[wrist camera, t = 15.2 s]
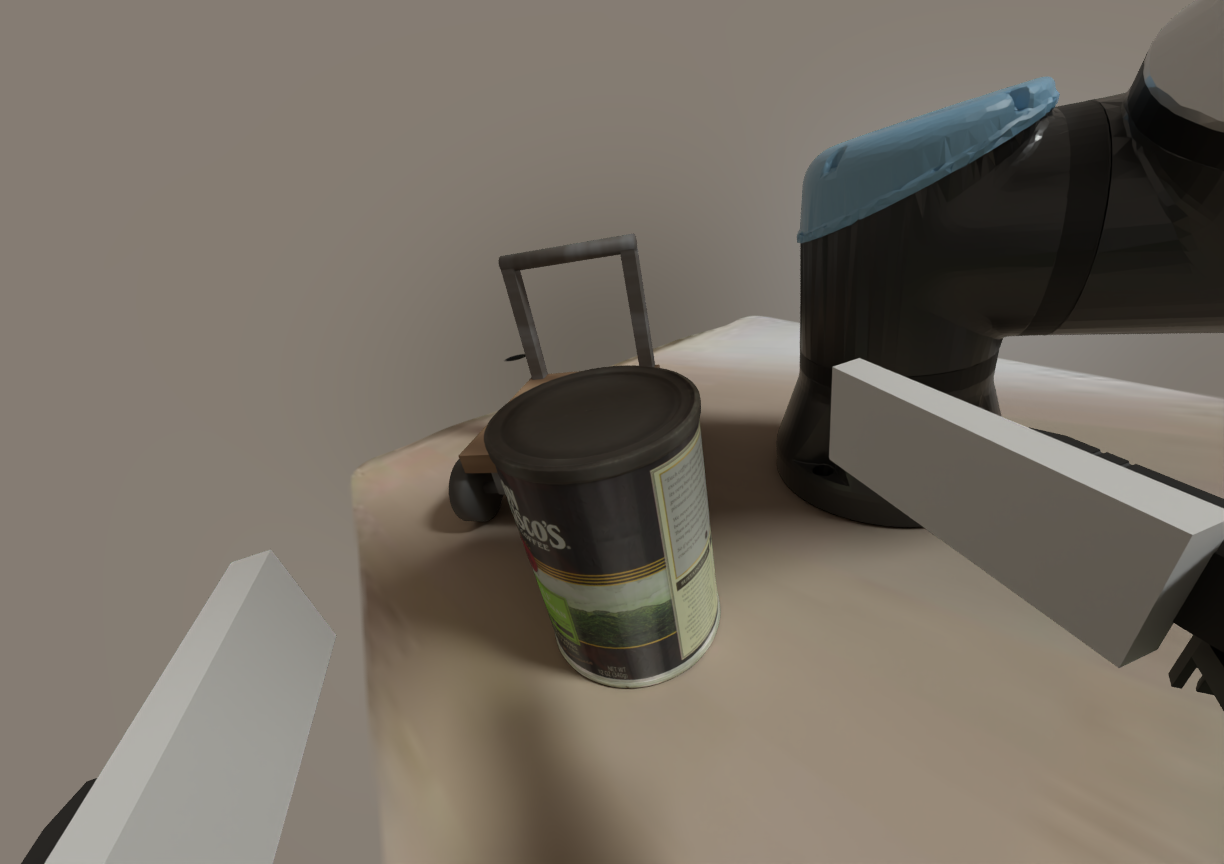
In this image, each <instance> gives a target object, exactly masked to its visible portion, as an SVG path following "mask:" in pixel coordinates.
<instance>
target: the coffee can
mask: <svg viewBox="0 0 1224 864" xmlns="http://www.w3.org/2000/svg"><path fill="white" fill-rule="evenodd" d="M700 413H701V400H700V394H699V391H698V389H697V387H696V386H695V385H694V384H693V382H692V381H690V380H689V379H688V378H686V377H684V376H683V375H681V374H679V373H677V372H674V371H670V370H667V369H662V368H657V367H649V366H612V367H602V368H596V369H590V370H585V371H580V372H576V373H572V374H569V375H565V376H562V377H559V378H556V379H553V380H550V381H548V382H545V383H542V384H540V385H538V386H536V387H534V388H532V389H530V390H528V391H526V392H524V393H522V394H520V395H519V396H517V397H516V398H514V399H513V400H511V401H510V402H508V403H507V404H506V405H505V406H503V407H502V408H501V409H500V410H499V411H498V412H497V413H496V414H495V415H494V416H493V417H492V419H491V420H490V422H489V423H488V425H487V427H486V429H485V432H484V443H485V447H486V450H487V452H488V454H489V457H490V459H491V460H492V462H493V463H494V464H495V466H496V469H497V473H498V475H499V477H500V479H501V482H502V485H503V488H504V491H505V494H506V496H507V499H508V502H509V505H510V508H511V511H512V513H513V516H514V518H515V522H516V524H517V527H518V529H519V532H520V536H521V539H522V541H523V544H524V547H525V550H526V553H527V555H528V558H529V560H530V563H531V566H532V568H533V571H534V574H535V577H536V580H537V582H538V585H539V588H540V591H541V594H542V597H543V599H544V602H545V605H546V608H547V610H548V613H549V616H550V619H551V622H552V625H553V628H554V631H555V636H556V640H557V643H558V646H559V649H560V651H561V653H562V655H563V656H564V658H565V659H566V660H567V662H568V663H569V664H570V665H571V666H572V667H573V668H574V669H575V670H576V671H578V672H579V673H580V674H582V675H583V676H585V677H587V678H589V679H591V680H593V681H595V682H597V683H600V684H603V685H607V686H611V687H617V688H640V687H647V686H652V685H656V684H659V683H662V682H665V681H668V680H670V679H672V678H674V677H676V676H678V675H680V674H681V673H683V672H685V671H686V670H688V669H689V668H690V667H692V666H693V665H694V664H695V663H696V662H697V661H698V660H699V659H700V658H701V657H702V656H703V655H704V653H705V652H706V651H707V649H708V648H709V646H710V645H711V643H712V641H713V639H714V637H715V635H716V632H717V629H718V625H719V620H720V602H719V597H718V593H717V587H716V577H715V567H714V558H713V548H712V538H711V529H710V519H709V509H708V499H707V489H706V480H705V469H704V459H703V450H702V440H701V429H700V419H699V418H700Z"/></svg>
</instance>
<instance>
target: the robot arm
mask: <svg viewBox="0 0 1224 864" xmlns="http://www.w3.org/2000/svg"><path fill="white" fill-rule="evenodd" d="M1059 95H1060V94H1059V92H1057V91H1056V88H1055V81H1054V80H1053V79H1052V78H1051V77H1041V78H1037V79H1034V80H1031V81H1027V82H1024V83H1021V84H1018V85H1014V86H1011V87H1007V88H1005V89H1001V90H998V91H995V92H992V93H989V94H986V95H983V96H980V97H977V98H974V99H970V100H967V101H964V102H961V103H958V104H955V105H952V106H948V107H945V108H942V109H939V110H936V111H933V112H930V113H927V114H924V115H921V116H919V117H915V118H912V119H909V120H906V121H903V122H900V123H897V124H895V125H892V126H889V127H886V128H883V129H880V130H877V131H874V132H871V133H868V134H865V135H862V136H859V137H857V138H854V139H851V140H848V141H845V142H843V143H840V144H837V145H835V146H833V147H830V148H828V149H827V150H825V151H823V152H822V153H821V154H820V155H818V156H817V158H815V159H814V161H813V162H812V163H811V164H810V166H809V168H808V169H807V171H806V174H805V177H804V181H803V190H802V207H801V222H800V230H799V232H798V234H797V242H798V243H801V306H800V373H799V377H798V380H797V383H796V385H795V388H794V391H793V393H792V396H791V399H790V401H789V404H788V407H787V410H786V412H785V415H784V418H783V420H782V423H781V426H780V428H779V431H778V435H777V442H776V443H777V467H778V471H779V473H780V476H781V477H782V479H783V480H784V482H785V483H786V484H787V486H788V487H789V488H790V489H791V490H792V491H794V492H795V493H796V494H797V495H798V496H800V497H801V498H803V499H804V500H806V501H807V502H809V503H811V504H813V505H815V506H816V507H819V508H821V509H823V510H825V511H828V512H830V513H833V514H836V515H838V516H841V517H845V518H848V519H852V520H856V521H860V522H865V523H870V524H876V525H884V526H895V527H924V528H925V529H927V530H928V531H930V532H931V533H932V534H934V535H935V536H937V537H938V538H939V539H941V540H942V541H943V542H945V543H946V544H948V545H949V546H950V547H952V548H953V549H955V550H956V551H957V552H959V553H960V554H962V555H963V556H964V557H966V558H967V559H968V560H970V561H971V562H973V563H974V564H975V565H977V566H978V567H980V568H981V569H982V570H984V571H985V572H986V573H988V574H989V575H991V576H992V577H993V578H995V579H996V580H998V581H999V582H1000V583H1002V584H1003V585H1005V586H1006V587H1007V588H1009V589H1010V590H1011V591H1013V592H1014V593H1016V594H1017V595H1018V596H1020V597H1021V598H1023V599H1024V600H1025V601H1027V602H1028V603H1029V604H1031V605H1032V606H1034V607H1035V608H1036V609H1038V610H1039V611H1041V612H1042V613H1043V614H1045V615H1046V616H1048V617H1049V618H1050V619H1052V620H1053V621H1054V622H1056V623H1057V624H1059V625H1060V626H1061V627H1063V628H1064V629H1066V630H1067V631H1068V632H1070V633H1071V634H1072V635H1074V636H1075V637H1077V638H1078V639H1079V640H1081V641H1082V642H1084V643H1085V644H1086V645H1088V646H1089V647H1091V648H1092V649H1093V650H1095V651H1096V652H1097V653H1099V654H1100V655H1102V656H1103V657H1104V658H1106V659H1107V660H1109V661H1110V662H1111V663H1113V664H1114V665H1115V666H1117V667H1118V668H1120V667H1122V666H1124V665H1126V664H1129V663H1131V662H1133V661H1135V660H1137V659H1139V658H1141V657H1143V656H1145V655H1147V654H1149V653H1151V652H1153V651H1155V650H1157V649H1158V648H1159V646H1160V644H1161V643H1162V641H1163V639H1164V638H1165V636H1166V634H1167V633H1168V631H1169V629H1170V628H1171V626H1172V624H1173V623H1175V624H1177V625H1178V626H1180V627H1182V628H1183V629H1185V630H1187V631H1188V632H1190V633H1192V634H1193V636H1192V638H1191V639H1190V641H1189V642H1188V644H1187V646H1186V647H1185V649H1184V650H1183V652H1182V653H1181V655H1180V656H1179V658H1178V659H1177V661H1176V663H1175V664H1174V666H1173V667H1172V669H1171V670H1170V672H1169V678H1170V682H1171V686H1172V687H1176V688H1181V689H1182V687H1183V686H1184V685H1185V683H1186V682H1187V680H1188V679H1189V677H1190V676H1191V674H1192V673H1193V671H1194V670H1195V669H1196V668H1198V669H1199V670H1200V672H1201V674H1202V677H1201V678H1200V680H1199V681H1198V683H1197V686H1196V691H1197V692H1201V693H1206V694H1211V695H1214V696H1215V697H1216V699H1217V701H1218V702H1219V704H1220V706H1221V707H1222V709H1223V711H1224V499H1222V498H1220V497H1217V496H1215V495H1212V494H1210V493H1207V492H1205V491H1202V490H1200V489H1197V488H1195V487H1192V486H1190V485H1187V484H1185V483H1182V482H1180V481H1177V480H1175V479H1172V478H1170V477H1167V476H1165V475H1162V474H1160V473H1157V472H1155V471H1152V470H1150V469H1147V468H1145V467H1143V466H1140V465H1138V464H1135V465H1131V464H1129V461H1128V460H1125V459H1123V458H1120V457H1118V456H1115V455H1113V454H1110V453H1108V452H1106V453H1101V452H1100V449H1098V448H1095V447H1093V446H1090V445H1088V444H1085V443H1083V442H1080V441H1078V440H1075V439H1073V438H1070V437H1068V436H1064V435H1060V434H1055V433H1051V432H1047V431H1042V430H1038V429H1033V428H1028V427H1025V426H1023V425H1020V424H1018V423H1015V422H1013V421H1011V420H1008V419H1006V418H1003V417H1001V412H1000V408H999V403H998V399H997V394H996V389H995V385H994V373H995V367H996V362H997V358H998V353H999V348H1000V346H1001V343H1002V340H1003V338H1004V337H1007V336H1023V335H1024V336H1025V335H1082V334H1161V333H1162V334H1163V333H1224V0H1195V1H1194V2H1192V3H1191V4H1189V5H1188V6H1187V7H1185V8H1184V9H1182V10H1181V11H1180V12H1179V13H1178V14H1176V15H1175V16H1174V17H1173V18H1172V19H1171V20H1170V21H1169V22H1168V23H1167V24H1166V25H1165V26H1164V27H1163V28H1162V29H1161V30H1160V32H1159V33H1158V35H1157V36H1156V38H1155V39H1154V41H1153V42H1152V44H1151V46H1150V49H1149V51H1148V52H1147V54H1146V57H1145V59H1144V61H1143V63H1142V65H1141V67H1140V69H1139V71H1138V74H1137V76H1136V78H1135V80H1134V82H1133V84H1132V86H1131V87H1130V89H1129V90H1128V92H1126V93H1123V94H1118V95H1114V96H1109V97H1105V98H1099V99H1094V100H1088V101H1085V102H1079V103H1074V104H1069V105H1064V106H1058V107H1055V105H1056V104H1057V103H1058V99H1059ZM335 639H336V634H335V633H334V632H333V630H332V629H331V628H330V626H329V625H328V623H327V622H326V621H325V619H324V618H323V617H322V616H321V614H320V613H319V612H318V610H317V609H316V608H315V607H314V605H313V604H312V602H311V601H310V600H309V599H308V597H307V596H306V595H305V593H304V592H303V591H302V589H301V588H300V587H299V585H298V584H297V583H296V581H295V580H294V579H293V577H292V576H291V575H290V573H289V572H288V571H287V570H286V568H285V567H284V566H283V564H282V563H281V562H280V560H279V559H278V558H277V556H276V555H275V554H274V553H273V551H272V550H267V551H264V552H261V553H258V554H255V555H252V556H249V557H246V558H243V559H240V560H237V561H233V562H231V563H230V565H229V567H228V568H227V570H226V571H225V573H224V575H223V576H222V578H221V580H220V581H219V583H218V584H217V586H216V588H215V589H214V591H213V593H212V594H211V596H210V597H209V599H208V600H207V602H206V604H205V605H204V607H203V609H202V610H201V612H200V613H199V615H198V617H197V618H196V620H195V621H194V623H193V625H192V627H191V628H190V630H189V631H188V633H187V634H186V636H185V638H184V639H183V641H182V642H181V644H180V646H179V647H178V649H177V651H176V652H175V654H174V655H173V657H172V659H171V660H170V662H169V663H168V665H167V667H166V668H165V670H164V671H163V673H162V675H161V676H160V678H159V680H158V681H157V683H156V684H155V686H154V688H153V689H152V691H151V693H150V694H149V696H148V697H147V699H146V701H145V702H144V704H143V705H142V707H141V709H140V710H139V712H138V714H137V715H136V717H135V718H134V720H133V722H132V723H131V725H130V726H129V728H128V730H127V731H126V733H125V734H124V736H123V738H122V739H121V741H120V743H119V744H118V746H117V747H116V749H115V751H114V752H113V754H112V755H111V757H110V759H109V760H108V762H107V764H106V765H105V767H104V768H103V770H102V772H101V773H100V775H99V776H98V778H96V779H93V780H90V781H88V782H86V783H85V784H84V785H83V787H82V788H81V789H80V790H79V791H78V792H77V793H76V794H75V795H74V796H73V797H72V799H71V800H70V801H69V802H68V803H67V804H66V805H65V806H64V807H63V809H62V810H61V811H60V812H59V813H58V814H57V815H56V816H55V817H54V819H52V821H51V822H50V823H49V824H48V825H47V826H46V827H45V828H44V830H43V831H42V833H41V834H40V836H39V837H38V839H37V840H36V842H35V843H34V845H33V846H32V848H31V850H30V851H29V852H28V854H27V855H26V857H25V859H24V860H23V862H22V863H21V864H273V861H274V857H275V854H276V850H277V847H278V843H279V839H280V836H281V832H282V828H283V825H284V821H285V818H286V814H287V811H288V807H289V804H290V800H291V796H292V793H293V789H294V786H295V782H296V779H297V774H298V771H299V768H300V764H301V761H302V757H303V753H304V750H305V746H306V743H307V739H308V736H309V732H310V728H311V725H312V721H313V718H314V713H315V710H316V707H317V703H318V700H319V696H320V693H321V689H322V685H323V682H324V678H325V675H326V671H327V668H328V664H329V660H330V657H331V653H332V650H333V646H334V642H335Z"/></svg>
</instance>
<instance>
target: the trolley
mask: <svg viewBox="0 0 1224 864" xmlns="http://www.w3.org/2000/svg"><path fill="white" fill-rule="evenodd" d="M619 254H621V260H622V265H623V271H624V278H625V284H626V290H627V295H628V302H629V307H630V313H631V319H632V325H633V331H634V337H635V342H636V349H637V355H638V361H639V366H649V367H657V368H660V366H659V365H655V361H654V355H653V348H652V342H651V335H650V328H649V322H648V315H647V308H646V302H645V295H644V289H643V282H642V275H641V270H640V263H639V255H638V249H637V240H636V236H635V234H629V235H622V236H617V237H611V238H605V239H600V240H593V241H587V242H582V243H576V244H570V245H564V246H558V247H553V248H547V249H541V250H535V251H529V252H523V253H517V254H511V255H505V256H500V258H499V266H500V269H501V272H502V275H503V278H504V282H505V285H506V289H507V292H508V296H509V299H510V303H511V306H512V309H513V313H514V317H515V320H516V324H517V327H518V330H519V334H520V337H521V341H522V345H523V348H524V352H525V355H526V359H527V362H528V366H529V369H530V373H531V376H532V377H531V379H530V380H529V381H528V382H527V383H526V384H525V385H524V386H523V387H522V388H521V389H520V391H518V392H517V394H516V395H515V396H514V397H513V398H512V399H511V400H513V399H514V398H516V397H517V396H519V395H520V394H522V393H524V392H526V391H528V390H530V389H532V388H534V387H536V386H538V385H540V384H542V383H545V382H548V381H550V380H553V379H556V378H559V377H562V376H565V375H569V374H572V373H576V372H567V373H556V374H548V373H547V369H546V365H545V361H544V358H543V354H542V350H541V347H540V343H539V339H538V335H537V332H536V328H535V324H534V321H533V317H532V313H531V309H530V306H529V302H528V298H527V294H526V291H525V287H524V283H523V280H522V276H521V272H520V270H525V269H531V268H537V267H544V266H550V265H556V264H562V263H569V262H575V261H581V260H587V259H594V258H600V257H607V256H613V255H619ZM579 372H580V371H579ZM511 400H510V401H511ZM510 401H509V402H510ZM486 427H487V426H486ZM486 427H485V428H484V429H483V430H482V431H481V432H480V433H479V434H478V435H477V436H476V437H475V439H474V440H473V441H472V442H471V443H470V444H469V445H468V446H467V447H466V448H465V449H464V450H463V451H462V453H461V454H460V455H459V460H458V461H457V462H456V464H455V465H454V467H453V470H452V472H451V476H450V481H449V497H450V502H451V506H452V508H453V510H454V512H455V514H456V515H457V516H458V517H459V518H460V519H462V520H464V521H488V520H490V519H492V518H493V517H494V516H495V515H496V513H497V512H498V510H499V508H500V505H501V502H502V498H503V494H505V491H504V488H503V485H502V482H501V479H500V477H499V475H498V473H497V469H496V466H495V464H494V463H493V462H492V460H491V459H490V457H489V454H488V452H487V450H486V447H485V443H484V432H485V429H486Z"/></svg>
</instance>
